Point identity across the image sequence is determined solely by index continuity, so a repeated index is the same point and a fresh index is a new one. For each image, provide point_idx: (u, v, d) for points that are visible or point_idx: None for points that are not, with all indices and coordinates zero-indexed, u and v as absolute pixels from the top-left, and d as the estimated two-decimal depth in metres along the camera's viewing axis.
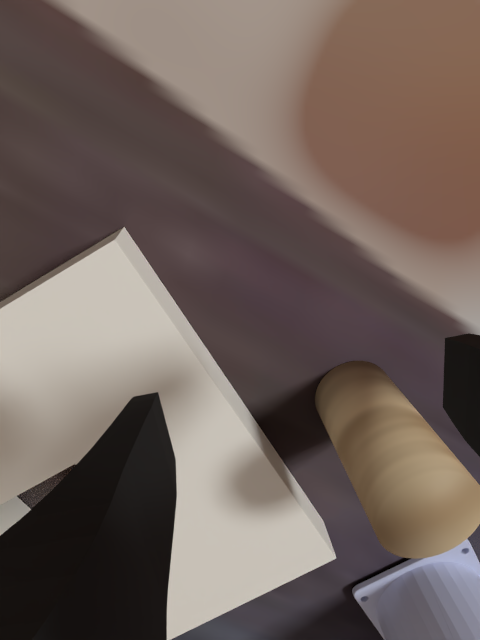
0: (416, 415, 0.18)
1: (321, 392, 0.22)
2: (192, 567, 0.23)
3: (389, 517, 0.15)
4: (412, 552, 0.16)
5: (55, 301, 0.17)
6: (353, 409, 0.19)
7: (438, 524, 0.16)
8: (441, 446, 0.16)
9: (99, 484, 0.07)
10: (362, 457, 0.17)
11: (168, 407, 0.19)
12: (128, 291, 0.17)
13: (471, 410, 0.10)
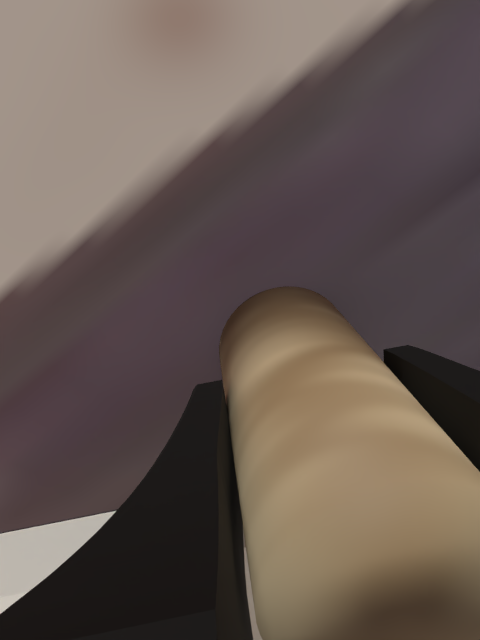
0: (266, 380, 0.09)
1: None
2: None
3: None
4: (474, 629, 0.07)
5: None
6: None
7: (429, 581, 0.06)
8: (284, 446, 0.07)
9: (197, 464, 0.07)
10: None
11: None
12: None
13: None
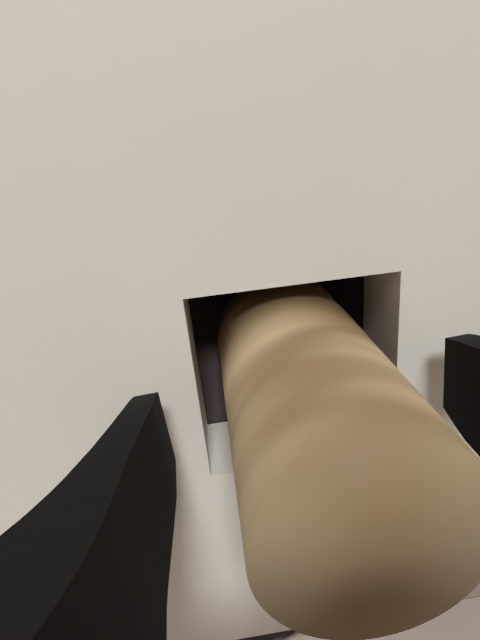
0: (263, 356, 0.09)
1: None
2: None
3: (322, 617, 0.07)
4: (452, 591, 0.07)
5: None
6: None
7: (411, 540, 0.07)
8: (279, 411, 0.07)
9: (99, 484, 0.07)
10: None
11: (132, 59, 0.09)
12: None
13: (471, 411, 0.10)
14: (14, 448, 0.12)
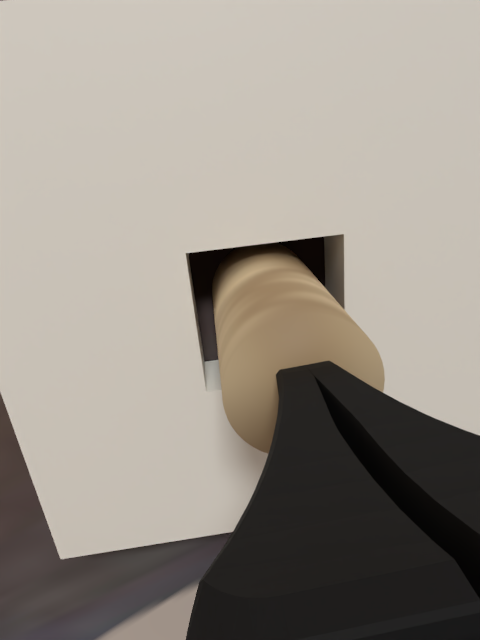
0: (240, 287, 0.13)
1: None
2: (437, 199, 0.15)
3: (271, 438, 0.11)
4: None
5: None
6: None
7: None
8: (246, 311, 0.11)
9: (322, 439, 0.07)
10: None
11: (152, 84, 0.13)
12: None
13: None
14: (61, 366, 0.16)
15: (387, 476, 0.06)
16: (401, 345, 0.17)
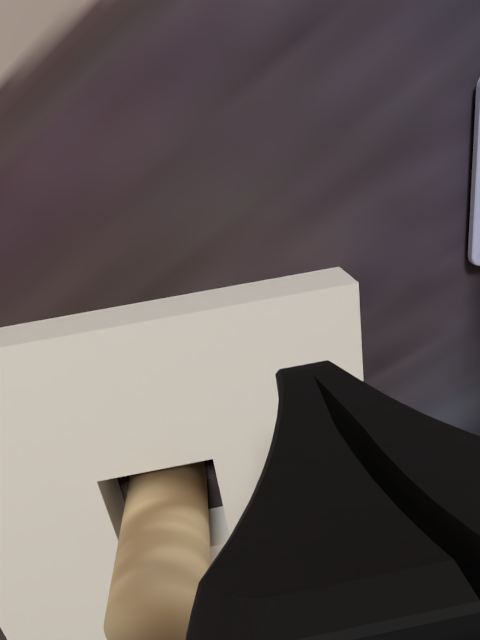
0: (130, 521, 0.19)
1: None
2: None
3: None
4: None
5: None
6: None
7: (171, 620, 0.16)
8: (123, 563, 0.17)
9: (322, 440, 0.07)
10: None
11: (58, 389, 0.18)
12: None
13: None
14: (14, 557, 0.21)
15: (386, 476, 0.06)
16: None
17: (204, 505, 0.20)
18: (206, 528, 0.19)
